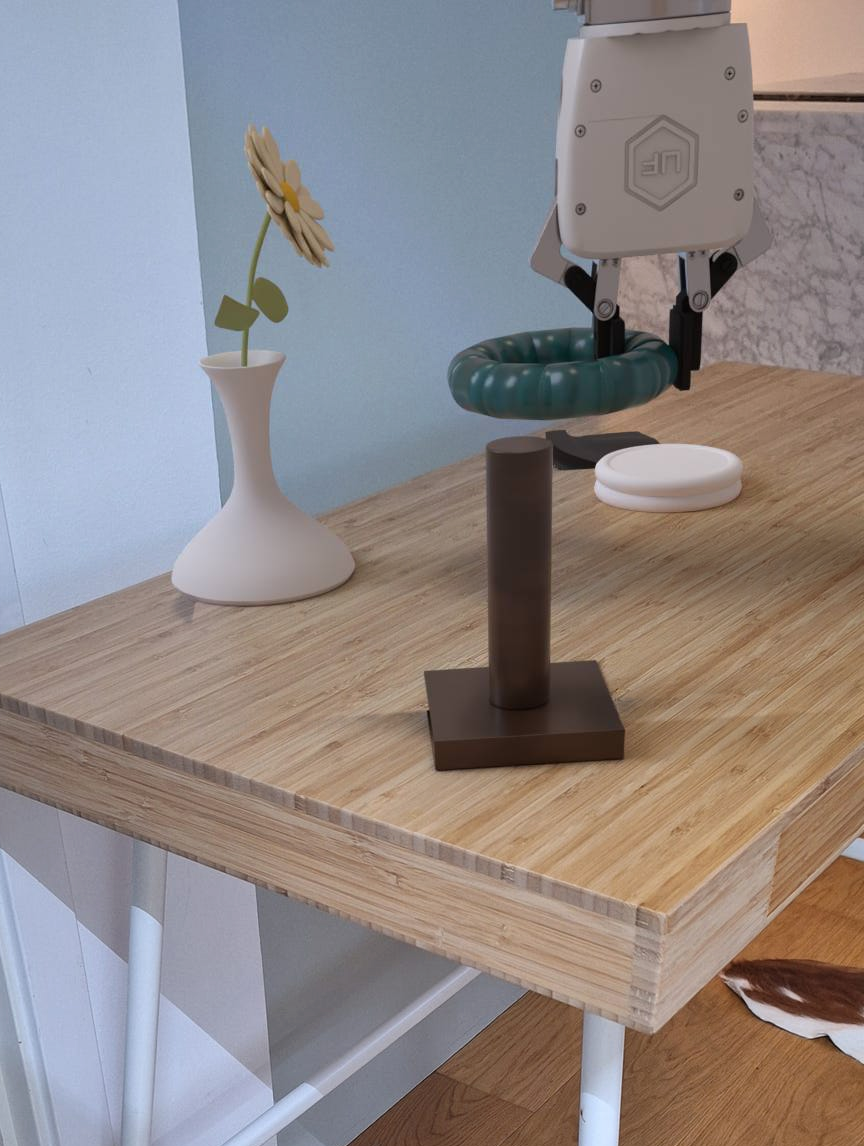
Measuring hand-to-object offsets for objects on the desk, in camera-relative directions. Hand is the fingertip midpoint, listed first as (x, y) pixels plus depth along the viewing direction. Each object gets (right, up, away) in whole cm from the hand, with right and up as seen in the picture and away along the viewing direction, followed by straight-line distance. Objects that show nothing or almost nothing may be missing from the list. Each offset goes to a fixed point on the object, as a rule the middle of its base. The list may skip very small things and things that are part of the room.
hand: (646, 385), depth 84 cm
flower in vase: (-22, -10, +8) cm, 25 cm away
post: (-8, -22, -10) cm, 26 cm away
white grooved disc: (+5, -1, +18) cm, 19 cm away
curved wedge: (+2, +6, +29) cm, 30 cm away
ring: (-5, 0, -1) cm, 5 cm away
